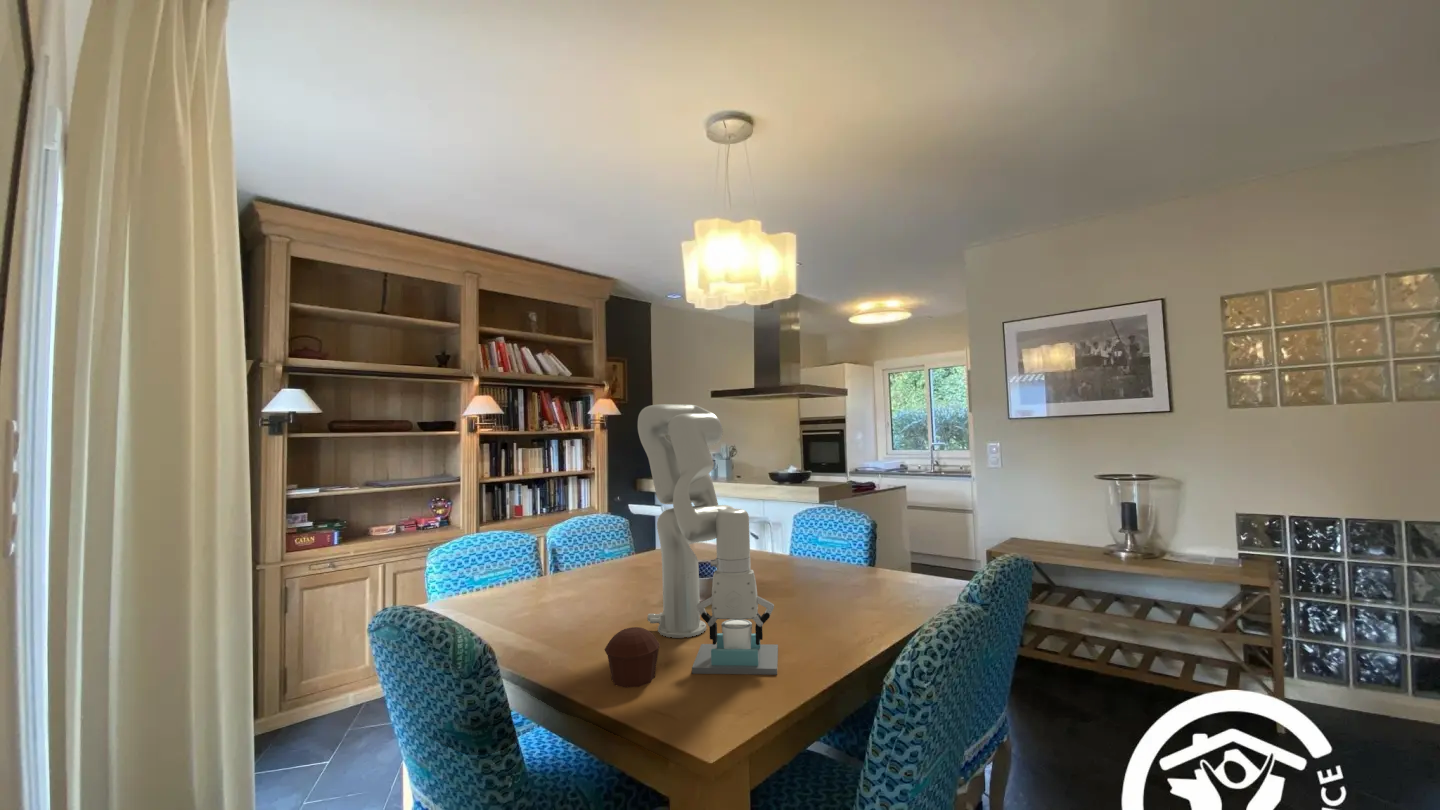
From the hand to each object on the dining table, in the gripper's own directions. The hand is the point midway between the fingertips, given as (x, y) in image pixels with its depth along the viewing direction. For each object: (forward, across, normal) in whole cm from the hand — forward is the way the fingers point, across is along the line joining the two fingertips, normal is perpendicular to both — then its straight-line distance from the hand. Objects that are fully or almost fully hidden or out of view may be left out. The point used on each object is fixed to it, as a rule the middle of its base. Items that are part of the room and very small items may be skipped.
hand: (736, 642), depth 129 cm
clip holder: (+4, 0, 0) cm, 4 cm away
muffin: (+4, -21, -10) cm, 24 cm away
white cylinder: (+3, 0, 0) cm, 3 cm away
